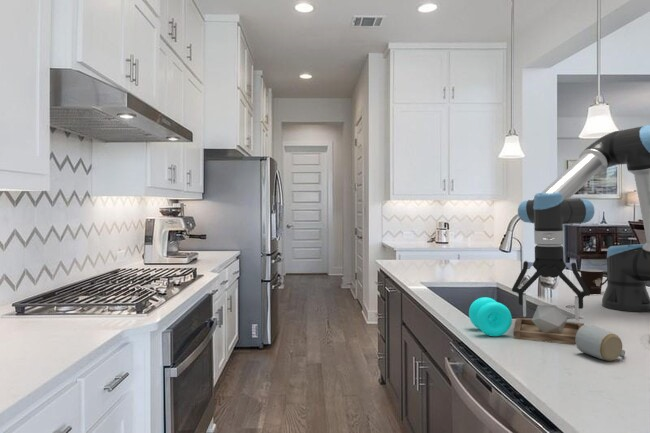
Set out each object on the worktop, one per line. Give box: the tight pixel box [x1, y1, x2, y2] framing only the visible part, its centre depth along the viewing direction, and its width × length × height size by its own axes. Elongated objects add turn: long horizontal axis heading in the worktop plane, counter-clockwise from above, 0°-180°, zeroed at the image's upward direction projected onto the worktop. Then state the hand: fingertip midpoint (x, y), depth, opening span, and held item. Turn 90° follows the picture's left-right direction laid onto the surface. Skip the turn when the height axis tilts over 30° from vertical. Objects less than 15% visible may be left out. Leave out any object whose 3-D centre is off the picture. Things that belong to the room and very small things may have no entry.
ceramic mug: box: [575, 323, 626, 362], centre depth 108 cm, size 10×8×7 cm
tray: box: [513, 317, 585, 345], centre depth 127 cm, size 19×17×2 cm
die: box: [531, 304, 568, 333], centre depth 127 cm, size 8×9×10 cm
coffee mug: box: [579, 268, 607, 294], centre depth 186 cm, size 12×9×10 cm
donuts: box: [468, 296, 513, 337], centre depth 130 cm, size 10×10×10 cm
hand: (550, 317), depth 127 cm, fingers open, 13 cm apart
